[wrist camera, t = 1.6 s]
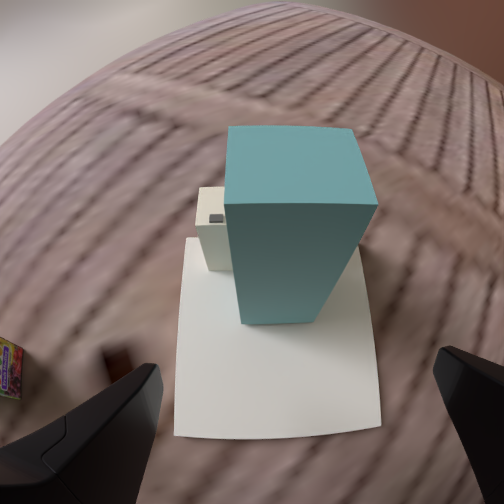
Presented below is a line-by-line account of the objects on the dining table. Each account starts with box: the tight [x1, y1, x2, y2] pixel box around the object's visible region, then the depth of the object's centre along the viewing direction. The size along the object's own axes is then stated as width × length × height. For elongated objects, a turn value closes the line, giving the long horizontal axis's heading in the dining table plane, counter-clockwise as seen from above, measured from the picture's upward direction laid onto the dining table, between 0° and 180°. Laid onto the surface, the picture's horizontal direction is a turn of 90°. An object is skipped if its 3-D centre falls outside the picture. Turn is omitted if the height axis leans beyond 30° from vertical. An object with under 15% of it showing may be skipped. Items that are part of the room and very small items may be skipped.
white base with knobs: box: [174, 187, 381, 439], centre depth 18 cm, size 15×14×7 cm
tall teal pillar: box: [224, 126, 378, 324], centre depth 16 cm, size 4×5×13 cm
